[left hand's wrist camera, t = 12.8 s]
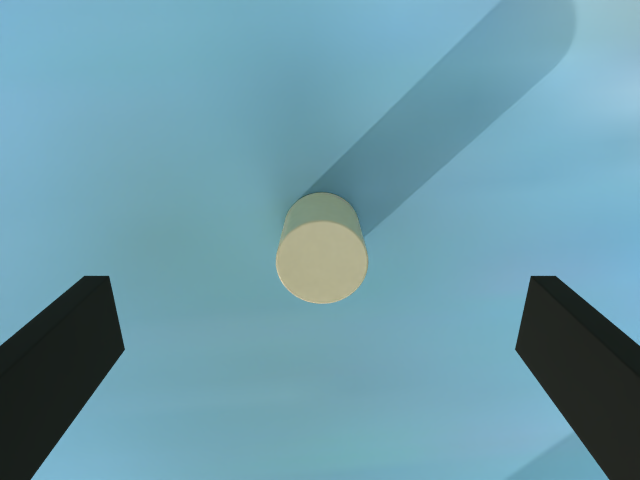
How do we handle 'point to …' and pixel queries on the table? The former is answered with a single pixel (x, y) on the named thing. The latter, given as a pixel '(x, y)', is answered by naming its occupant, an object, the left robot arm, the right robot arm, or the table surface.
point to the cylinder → (321, 249)
